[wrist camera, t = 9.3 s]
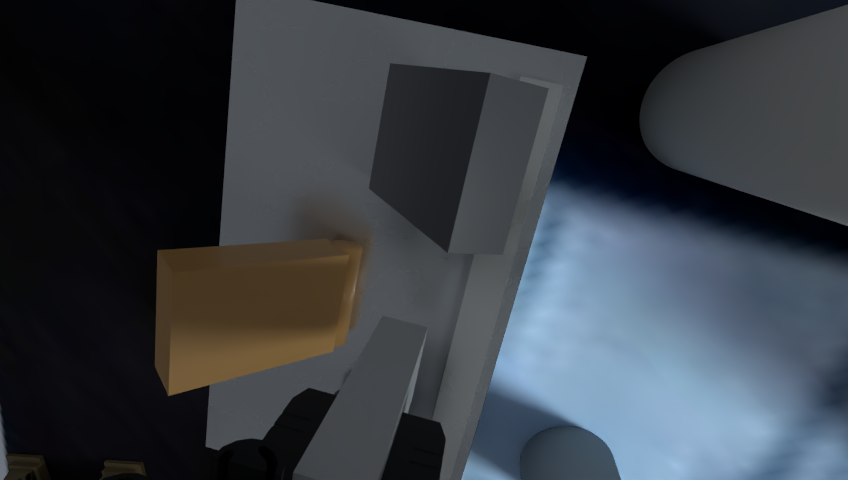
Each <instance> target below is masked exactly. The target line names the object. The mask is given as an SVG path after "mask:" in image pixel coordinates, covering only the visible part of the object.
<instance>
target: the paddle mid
mask: <svg viewBox="0 0 848 480" xmlns="http://www.w3.org/2000/svg"><path fill="white" fill-rule="evenodd" d="M362 249H363V247H362V246H361V245H360V244H358V243H356V242H353V241H348V240H334V241H332V242H330V241H329V240H327V239H314V240H300V241H285V242H271V243H256V244H242V245H228V246H213V247H199V248H184V249H170V250H158V253H157V297H156V340H155V367H156V370H157V372H158V374H159V376H160V378H161V381H162V383H163V385H164V387H165V389H166V392H167V394H168V396H170V395H174V394H177V393H181V392H185V391H188V390H192V389H196V388H200V387H203V386H207V385H211V384H214V383H218V382H222V381H226V380H229V379H233V378H237V377H240V376H244V375H248V374H252V373H255V372H259V371H263V370H266V369H270V368H274V367H278V366H281V365H285V364H289V363H292V362H296V361H300V360H304V359H307V358H311V357H315V356H318V355H322V354H326V353H330V352H333V350H334V347H339V346H342V345H344V344H345V343H346V341H347V335H348V330H349V324H350V318H351V312H352V307H353V301H354V295H355V290H356V284H357V278H358V272H359V267H360V261H361V255H362Z"/></svg>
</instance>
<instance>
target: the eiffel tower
mask: <svg viewBox="0 0 848 480" xmlns="http://www.w3.org/2000/svg"><path fill="white" fill-rule="evenodd" d="M6 458H7V461H8V463H9V465H8V466H9V469H10V471H9V472H8V474H7V475H6V477H5V478H4V480H51V477H50V475H49V472H48V469H47V466H46V464H45V461H44V458H43V455H29V454H14V453H9V454H7V455H6ZM104 465H105V469H104V470H102V471H101V473H102V476H103V477H102V478H100V479H99V480H101V479H103V478H105V477H109V476H113V475H117V474H121V473H139V474H142V475H145V476H147V475H146V472H145V468H144V465H143V462H133V461H118V460H106V461H105V462H104Z"/></svg>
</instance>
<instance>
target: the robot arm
mask: <svg viewBox="0 0 848 480" xmlns="http://www.w3.org/2000/svg"><path fill="white" fill-rule="evenodd" d="M427 330H428V327H425V326H421V325H417V324H413V323H409V322H405V321H401V320H397V319H394V318H390V317H386V316H382V318H381V320H380V321H379V323H378V325H377V327H376V328H375V330H374V332H373V334H372V335H371V337H370V339H369V341H368V342H367V344H366V346H365V348H364V349H363V351H362V353H361V355H360V356H359V358H358V360H357V362H356V363H355V365H354V367H353V369H352V370H351V372H350V374H349V376H348V377H347V379H346V381H345V383H344V384H343V386H342V388H341V390H340V391H339V393H338V395H334V394H330V393H327V392H323V391H319V390H316V389H312V388H307V389H306V390H304V391H303V392H301V393H299V394H298V395H296V396H294V397H293V398H292V399H291V401H290V402H289V403H288V405H287V406H286V408H285V409H284V410H283V412H282V415H281V414H280V416H279V417H278V419H277V420H276V421H275V423H274V425H273V426H272V427H271V428H270V430H269V431H268V432H267V434H266V435H265V437H264V438H263V439H262V440H260V439H253V438H250V439H243V440H237V441H234V442H232V443H230V444H227V445H225V446H223V447H222V448H221V449H219V450H218V451H217V452H216V453H215V454H213V455H212V464H211V479H210V480H440V474H441V467H442V461H443V455H444V449H445V442H446V438H445V435H444V432H443V429H442V426H441V423H440V422H436V421H433V420H429V419H426V418H422V417H418V416H415V415H411V414H408V411H409V407H410V404H411V401H412V397H413V393H414V388H415V384H416V379H417V375H418V370H419V366H420V361H421V357H422V352H423V348H424V343H425V339H426V334H427ZM101 480H152V479H151V478H150V477H147V476H145V475H142V474H139V473H121V474H117V475H113V476H109V477H105V478H103V479H101Z"/></svg>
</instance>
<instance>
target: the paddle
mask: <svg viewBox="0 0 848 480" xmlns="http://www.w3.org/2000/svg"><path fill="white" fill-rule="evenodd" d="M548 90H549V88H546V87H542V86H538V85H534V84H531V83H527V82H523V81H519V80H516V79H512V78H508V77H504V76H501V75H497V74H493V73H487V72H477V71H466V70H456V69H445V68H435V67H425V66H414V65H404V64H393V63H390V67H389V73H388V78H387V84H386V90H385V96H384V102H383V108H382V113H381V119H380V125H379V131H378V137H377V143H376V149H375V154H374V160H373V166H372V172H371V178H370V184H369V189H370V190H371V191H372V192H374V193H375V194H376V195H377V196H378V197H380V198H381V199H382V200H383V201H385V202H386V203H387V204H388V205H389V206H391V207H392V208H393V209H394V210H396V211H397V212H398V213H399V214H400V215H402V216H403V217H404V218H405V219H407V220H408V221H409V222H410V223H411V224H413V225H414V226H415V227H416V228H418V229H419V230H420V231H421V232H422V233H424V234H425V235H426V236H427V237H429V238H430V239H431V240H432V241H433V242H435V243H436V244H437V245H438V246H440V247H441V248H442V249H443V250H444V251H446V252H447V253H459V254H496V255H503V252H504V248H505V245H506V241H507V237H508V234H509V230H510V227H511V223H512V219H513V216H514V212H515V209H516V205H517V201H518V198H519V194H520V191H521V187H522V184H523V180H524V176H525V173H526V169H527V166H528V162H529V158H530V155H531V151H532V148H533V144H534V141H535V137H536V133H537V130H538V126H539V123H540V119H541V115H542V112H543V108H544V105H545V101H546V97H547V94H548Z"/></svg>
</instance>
